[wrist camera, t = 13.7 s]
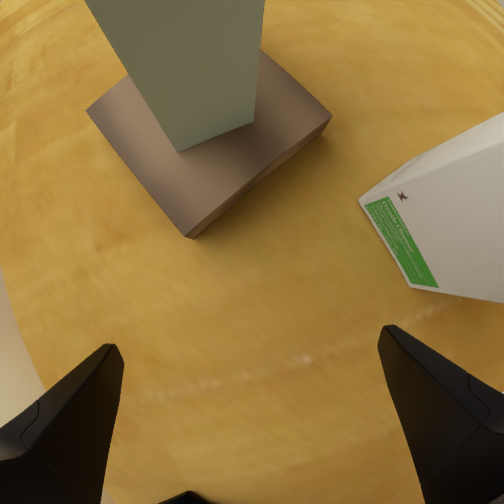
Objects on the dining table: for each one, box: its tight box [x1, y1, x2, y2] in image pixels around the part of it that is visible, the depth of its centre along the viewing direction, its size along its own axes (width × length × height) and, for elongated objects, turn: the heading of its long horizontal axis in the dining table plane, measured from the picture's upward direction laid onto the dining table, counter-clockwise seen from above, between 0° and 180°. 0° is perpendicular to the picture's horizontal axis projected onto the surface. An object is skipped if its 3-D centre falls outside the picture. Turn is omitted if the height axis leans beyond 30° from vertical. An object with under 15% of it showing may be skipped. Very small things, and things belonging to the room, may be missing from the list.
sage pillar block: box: [85, 0, 265, 153], centre depth 10 cm, size 5×5×13 cm
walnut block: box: [85, 50, 333, 239], centre depth 18 cm, size 12×12×3 cm
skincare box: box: [358, 111, 504, 304], centre depth 13 cm, size 8×7×16 cm
